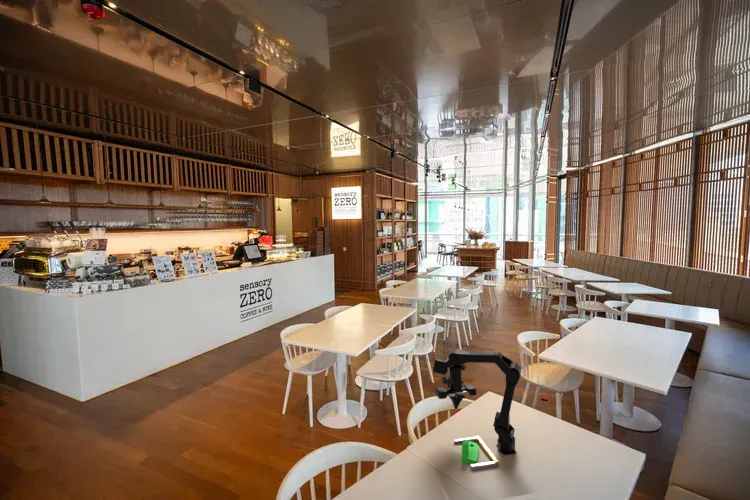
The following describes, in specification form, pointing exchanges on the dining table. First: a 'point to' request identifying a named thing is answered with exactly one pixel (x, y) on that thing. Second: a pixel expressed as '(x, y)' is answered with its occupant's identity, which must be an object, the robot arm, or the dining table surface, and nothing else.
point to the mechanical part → (469, 452)
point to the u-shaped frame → (485, 448)
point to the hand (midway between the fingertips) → (455, 408)
